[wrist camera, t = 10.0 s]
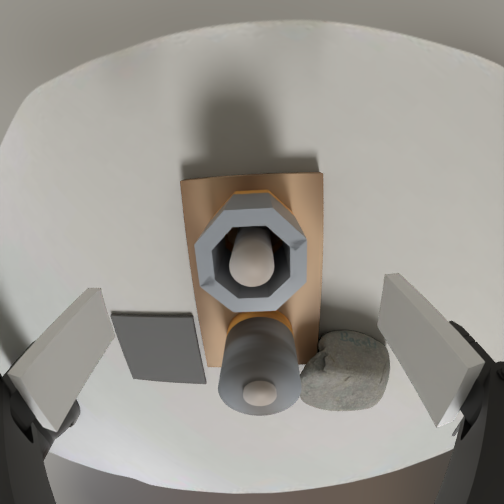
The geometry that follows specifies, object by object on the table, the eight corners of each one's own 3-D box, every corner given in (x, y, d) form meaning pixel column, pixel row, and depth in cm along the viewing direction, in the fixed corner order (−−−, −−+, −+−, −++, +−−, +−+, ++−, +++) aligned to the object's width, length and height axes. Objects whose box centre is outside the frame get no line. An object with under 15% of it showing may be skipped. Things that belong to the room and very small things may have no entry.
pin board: (209, 358, 32) (195, 425, 22) (184, 179, 25) (142, 197, 15) (313, 354, 31) (328, 422, 22) (319, 172, 24) (355, 185, 15)
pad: (134, 376, 33) (133, 378, 33) (111, 314, 30) (110, 315, 30) (206, 381, 33) (205, 383, 33) (192, 315, 30) (192, 317, 29)
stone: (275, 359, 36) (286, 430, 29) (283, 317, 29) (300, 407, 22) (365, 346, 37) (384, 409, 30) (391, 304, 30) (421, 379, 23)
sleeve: (219, 266, 26) (203, 312, 18) (212, 192, 24) (190, 212, 16) (292, 262, 26) (305, 308, 18) (291, 188, 23) (306, 206, 16)
